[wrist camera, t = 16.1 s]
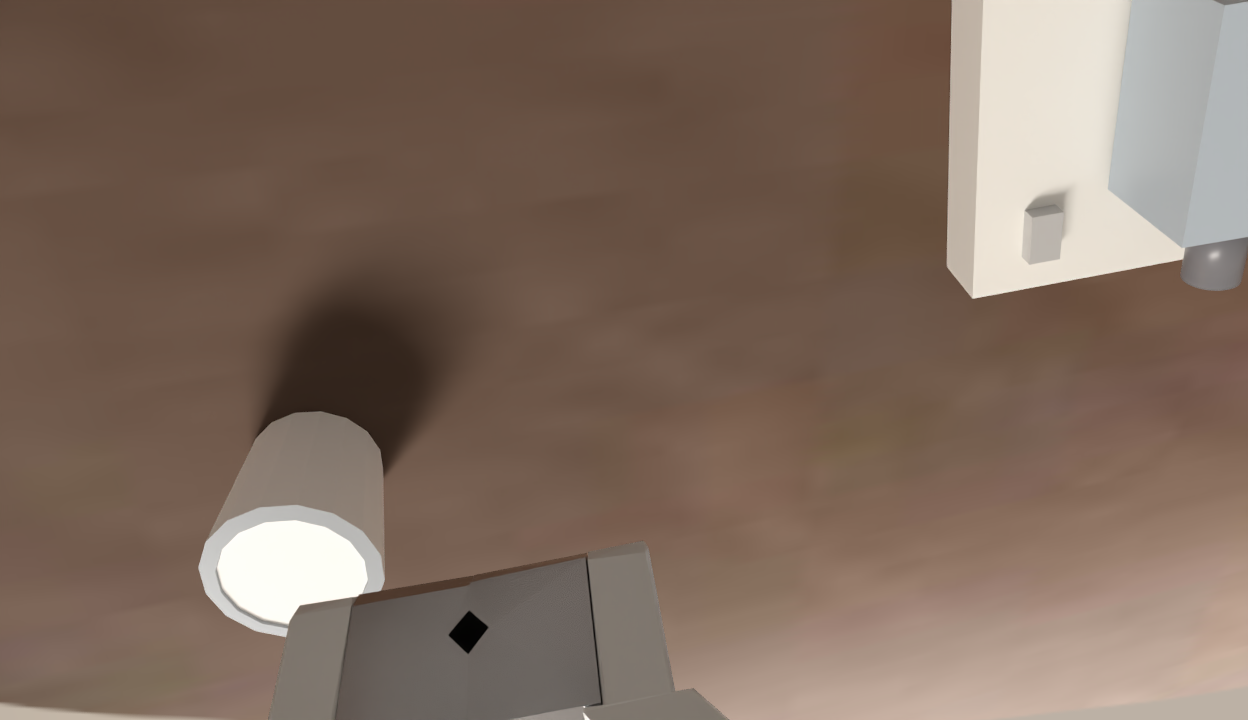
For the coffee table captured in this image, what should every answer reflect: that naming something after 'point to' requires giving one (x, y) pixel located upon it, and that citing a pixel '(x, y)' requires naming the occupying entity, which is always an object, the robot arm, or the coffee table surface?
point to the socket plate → (1039, 146)
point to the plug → (1187, 132)
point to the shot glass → (298, 523)
